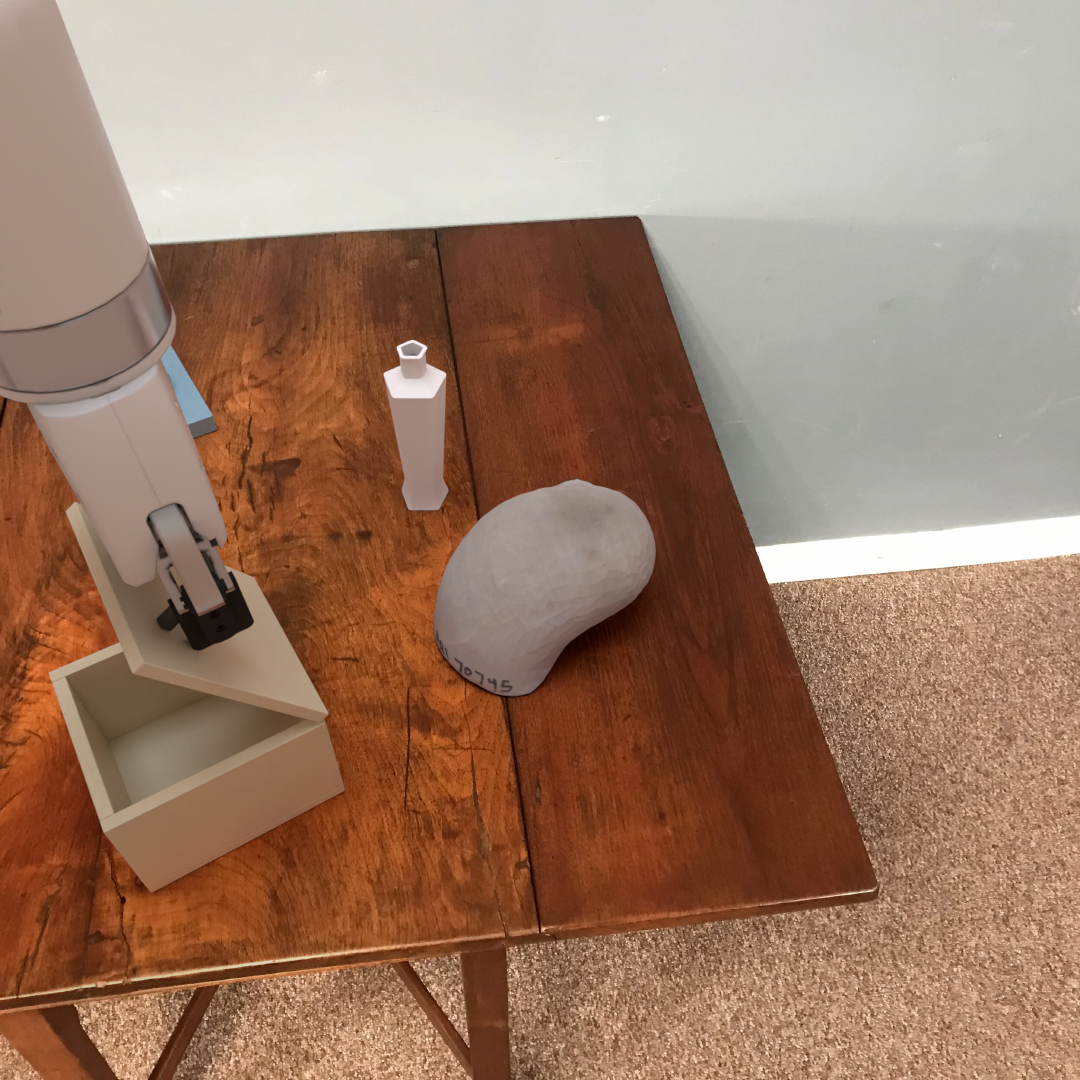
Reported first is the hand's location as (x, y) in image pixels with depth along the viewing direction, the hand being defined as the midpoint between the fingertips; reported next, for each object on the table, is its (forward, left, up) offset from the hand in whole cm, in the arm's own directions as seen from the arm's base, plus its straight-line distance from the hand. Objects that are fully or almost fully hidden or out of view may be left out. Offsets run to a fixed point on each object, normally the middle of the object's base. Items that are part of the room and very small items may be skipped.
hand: (200, 587), depth 49 cm
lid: (-1, 0, -3) cm, 3 cm away
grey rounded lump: (+22, 0, -17) cm, 28 cm away
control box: (+3, +37, -17) cm, 41 cm away
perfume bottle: (+20, +15, -17) cm, 30 cm away
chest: (-3, 0, -17) cm, 18 cm away
